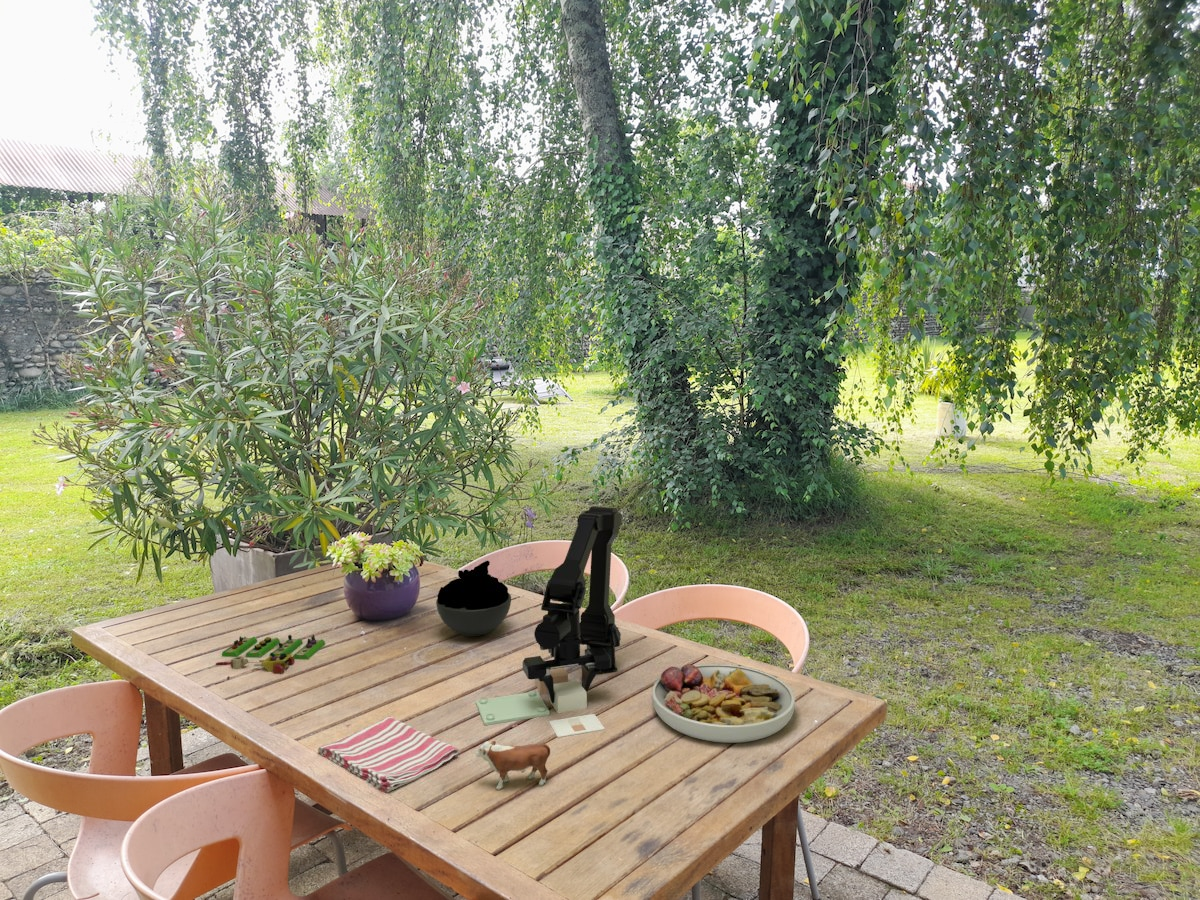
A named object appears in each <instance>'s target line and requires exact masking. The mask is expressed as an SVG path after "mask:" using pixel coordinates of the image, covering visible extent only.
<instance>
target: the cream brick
mask: <svg viewBox="0 0 1200 900" xmlns="http://www.w3.org/2000/svg"><path fill="white" fill-rule="evenodd" d="M553 686H554V703H552V702H551V700H550V697H549V696H548V699H549V700H548V701H549V703H550V704H551V706H552V707H553V708H554V709H555V712H557V714H564V713H569V712H575V711H580V710H586V709H588V705H587V704H588V701H587V700H588V698H587V695H588V694H587V693H588V691H587V692H586V691H585V689H584V688H583V687H582V686H581V682H579V681H578V680H577V679H576V680H570V681H569V680H568V682H562V683H557V684H553Z"/></svg>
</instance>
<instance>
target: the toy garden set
mask: <svg viewBox="0 0 1200 900" xmlns="http://www.w3.org/2000/svg"><path fill="white" fill-rule="evenodd" d="M292 637H293V636H292V634H288V635H287V638H288V639H287V640H286V641H285V642H284V643H281V642H280V638H278V637H270V636H266V637H265V638H264V639H263V640H260V641H259V642H258V638H257V637H255V636H252V637H247V636H241V635H240V636H239V638H238V639H239V640H238V639H236V640H234V641H233V644H232V645H230V646H229V647H228V648H225V649H224V650H223V651H222V653H221V658H222V657H224V658H225V657H229V658H232V659H231V660H230V661H220V662H219V661H218V662H216V663H215V665H219V666H220V665H221V666H231V667H232V669H233V670H241V669H243V668H244V667H245V665H247V664H253V667H264V668H265V670H267V672H269V673H273V674H274V675H282V674H284V673H285V670H286V669H288V668H289V666H293V665H294V664H295V663H296V662H295V660H304V661H305V660H307V661H308V660H309V659H311V658H312V657H313V656H314V655H315V654H316V653H317V652H319V651H320V650H321V649H322V648H323V647H324V646H325V645H326V641H325V640H324V639H322V638H321V639H316V638H315V634H313V635H312V636H311V637H310V638H308V639H307V642H306V644H305V645H304V646H302V645H303V643H304V642H303V639H302V638H298V639H297V638H292ZM277 645H278V647H277V648H276V649H274V648H275V647H276V646H277ZM253 646H254V647H253ZM301 646H302V647H301ZM251 647H253V648H252V649H250V648H251ZM299 647H301V648H300V649H299V650H298V651H296V650H297V649H298V648H299ZM273 649H274V650H273ZM247 650H249V651H247ZM272 650H273V651H272ZM246 651H247V652H246ZM270 651H272V652H270ZM294 651H296V652H295V653H294V654H293V652H294ZM245 652H246V653H245ZM269 652H270V653H269ZM243 653H245V659H244V656H242V654H243ZM268 653H269V656H268V657H267V658H265V659H261V658H262V657H263V656H265V655H266V654H268ZM240 655H241V656H240ZM247 658H253V659H255V658H256V659H257V658H258V659H259V658H260V660H259V661H249V660H248V659H247Z"/></svg>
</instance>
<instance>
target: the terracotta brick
mask: <svg viewBox="0 0 1200 900" xmlns="http://www.w3.org/2000/svg"><path fill="white" fill-rule="evenodd" d="M565 668H566V667H564V668H557V669H550V674H551V676H552V677H553V684H557V683H562V682H568V681H569V674H568V672H567V670H566V669H565ZM534 683H535V685H536V689H537V690H538V693H539V695H546V694H548V692H547V689H546V686H545V684H544V682H543V681H542V682H541V681H539V680H538V679H534Z"/></svg>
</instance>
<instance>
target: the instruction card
mask: <svg viewBox="0 0 1200 900" xmlns="http://www.w3.org/2000/svg"><path fill="white" fill-rule="evenodd" d="M548 723H549V724H550V726H551V728H552V730H553V731H554V733H555V735H556V738H557V739H558V738H559V739H560V738H564V737H565V738H566V737H570V736H574V735H575V736H576V735H581V734H588V733H593V732H600V731H605V730H606V728H605V727H604V725H603V724H602V723H601V721H600V720H599V719H598V717H597V716H596V714H595V713H590V714H585V715H579V716H573V717H566V718H562V719H561V718H560V719H555V720H554V719H553V720H548Z"/></svg>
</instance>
